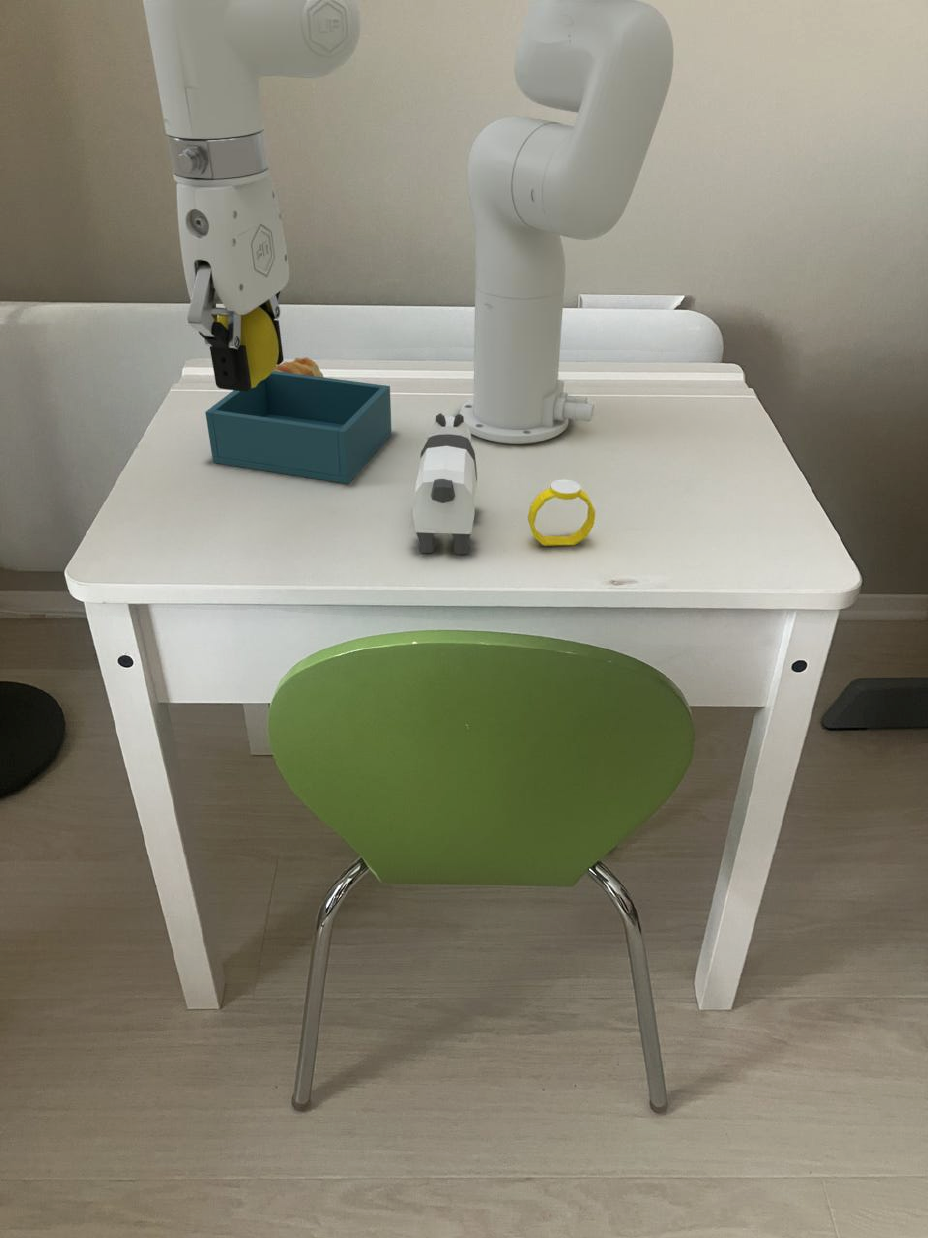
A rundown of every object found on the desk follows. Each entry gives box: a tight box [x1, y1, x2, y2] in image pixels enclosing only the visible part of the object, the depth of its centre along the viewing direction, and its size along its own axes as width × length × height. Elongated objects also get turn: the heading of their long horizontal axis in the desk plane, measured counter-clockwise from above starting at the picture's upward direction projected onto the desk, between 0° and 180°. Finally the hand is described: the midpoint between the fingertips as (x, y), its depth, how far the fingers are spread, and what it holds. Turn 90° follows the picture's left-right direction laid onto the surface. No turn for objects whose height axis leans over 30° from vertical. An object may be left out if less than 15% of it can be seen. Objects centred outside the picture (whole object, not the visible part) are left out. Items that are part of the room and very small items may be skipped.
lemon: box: [217, 306, 279, 388], centre depth 86 cm, size 6×6×8 cm
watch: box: [527, 478, 596, 547], centre depth 89 cm, size 6×3×6 cm, turn 98°
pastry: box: [273, 357, 324, 377], centre depth 117 cm, size 9×7×4 cm
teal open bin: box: [204, 371, 393, 485], centre depth 105 cm, size 16×13×6 cm
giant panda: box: [411, 413, 478, 556], centre depth 91 cm, size 15×6×10 cm, turn 177°
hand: (250, 373), depth 87 cm, fingers closed on lemon, 5 cm apart
